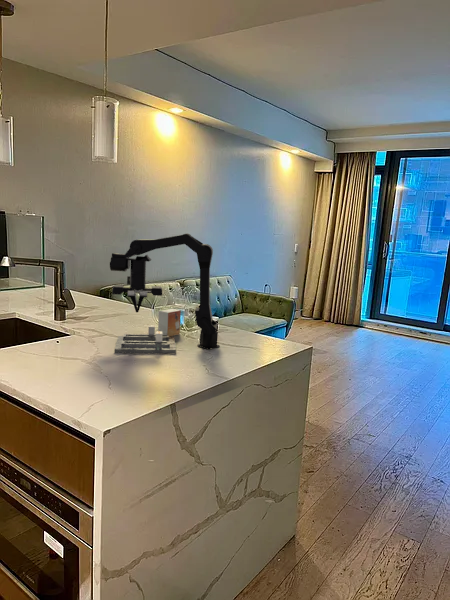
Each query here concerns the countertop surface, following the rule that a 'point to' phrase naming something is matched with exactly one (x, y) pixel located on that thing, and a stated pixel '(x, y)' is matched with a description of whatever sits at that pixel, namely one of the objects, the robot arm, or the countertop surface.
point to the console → (145, 344)
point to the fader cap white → (158, 337)
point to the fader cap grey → (151, 330)
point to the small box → (169, 322)
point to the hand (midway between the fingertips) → (137, 312)
